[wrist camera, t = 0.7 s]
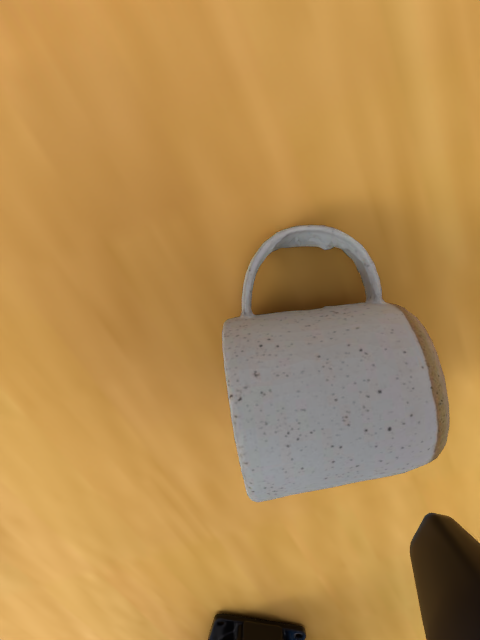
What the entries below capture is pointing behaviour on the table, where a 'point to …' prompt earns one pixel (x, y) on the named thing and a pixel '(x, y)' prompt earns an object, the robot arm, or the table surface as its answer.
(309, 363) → the ceramic mug
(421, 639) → the table surface
